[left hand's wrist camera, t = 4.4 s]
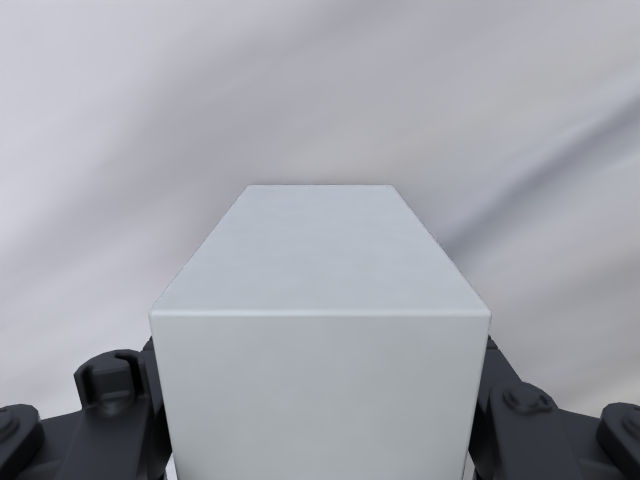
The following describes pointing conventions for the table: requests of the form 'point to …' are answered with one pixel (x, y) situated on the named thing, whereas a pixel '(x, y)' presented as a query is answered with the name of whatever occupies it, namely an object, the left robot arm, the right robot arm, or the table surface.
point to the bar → (320, 343)
